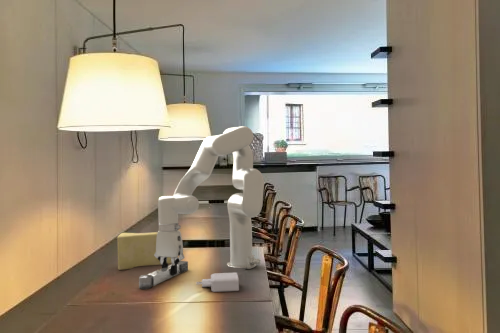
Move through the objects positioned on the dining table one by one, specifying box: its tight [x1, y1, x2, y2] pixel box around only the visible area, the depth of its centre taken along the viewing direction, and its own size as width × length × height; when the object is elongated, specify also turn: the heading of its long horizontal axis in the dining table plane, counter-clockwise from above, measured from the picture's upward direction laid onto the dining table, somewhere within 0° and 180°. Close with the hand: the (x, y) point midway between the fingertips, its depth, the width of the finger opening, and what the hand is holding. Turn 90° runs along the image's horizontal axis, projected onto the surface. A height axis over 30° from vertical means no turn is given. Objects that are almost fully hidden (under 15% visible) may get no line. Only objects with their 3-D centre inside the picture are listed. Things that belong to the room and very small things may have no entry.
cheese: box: [116, 231, 172, 271], centre depth 184 cm, size 22×10×15 cm, turn 96°
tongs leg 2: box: [151, 260, 189, 287], centre depth 163 cm, size 22×2×4 cm, turn 157°
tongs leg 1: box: [146, 260, 183, 275], centre depth 164 cm, size 22×2×4 cm, turn 156°
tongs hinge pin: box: [138, 274, 152, 290], centre depth 151 cm, size 4×4×4 cm
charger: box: [195, 271, 240, 293], centre depth 152 cm, size 5×9×15 cm
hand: (169, 273), depth 165 cm, fingers open, 3 cm apart
